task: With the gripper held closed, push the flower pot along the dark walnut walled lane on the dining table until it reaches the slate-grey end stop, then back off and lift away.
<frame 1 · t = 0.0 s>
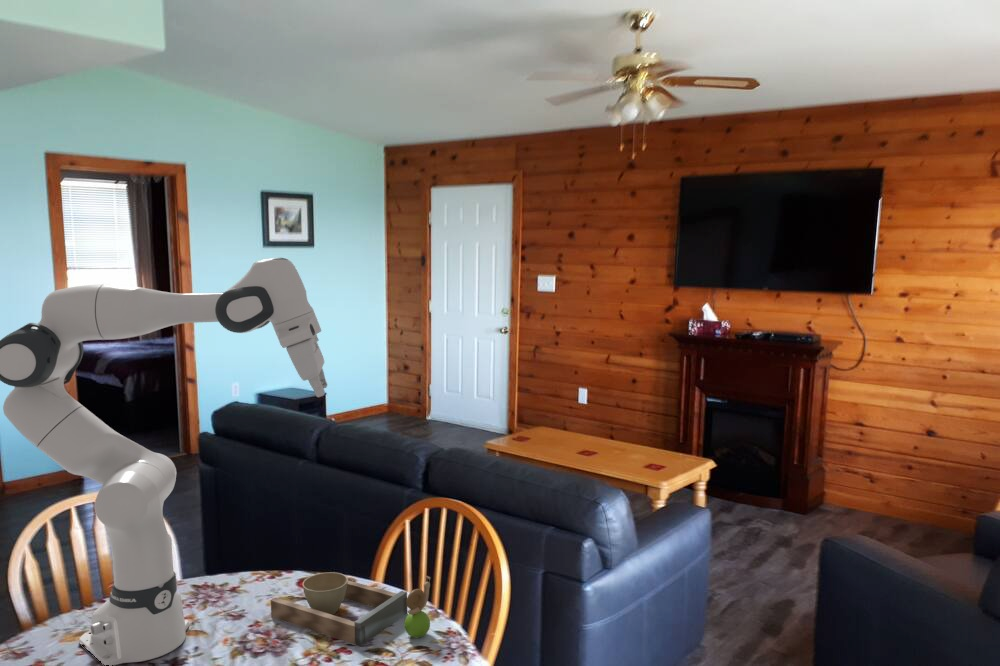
hand: (322, 391, 150), 52 cm above the table, tool tilted 20°, fingers open, 8 cm apart
flower pot: (326, 612, 162), resting in walled lane
walled lane: (339, 615, 160), on the table
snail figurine: (419, 636, 151), on the table
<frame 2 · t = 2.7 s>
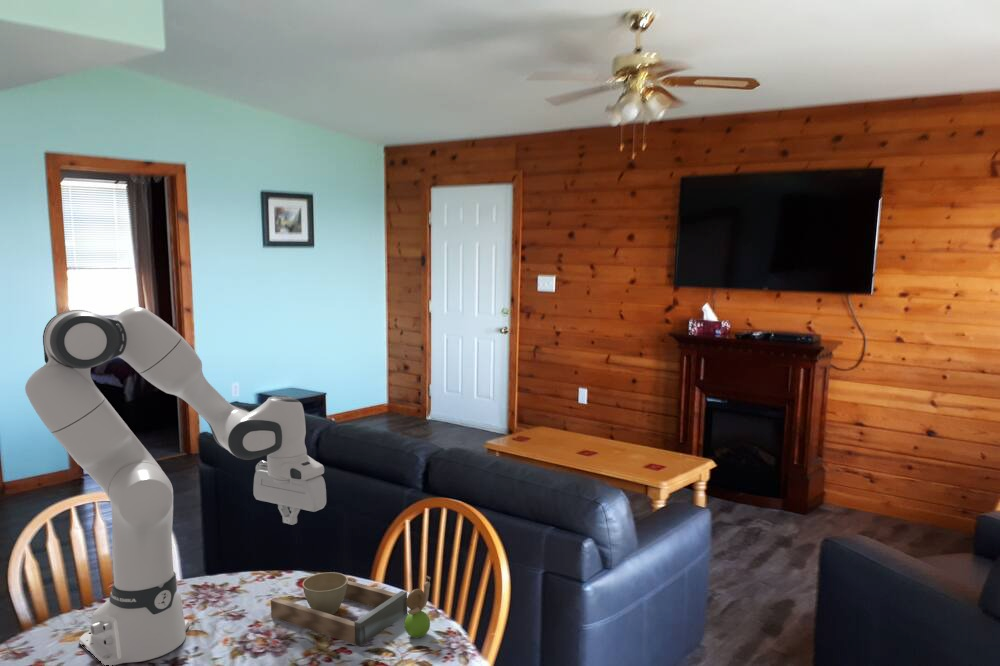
hand: (290, 523, 165), 19 cm above the table, tool pointing down, fingers closed
nothing on the table moved.
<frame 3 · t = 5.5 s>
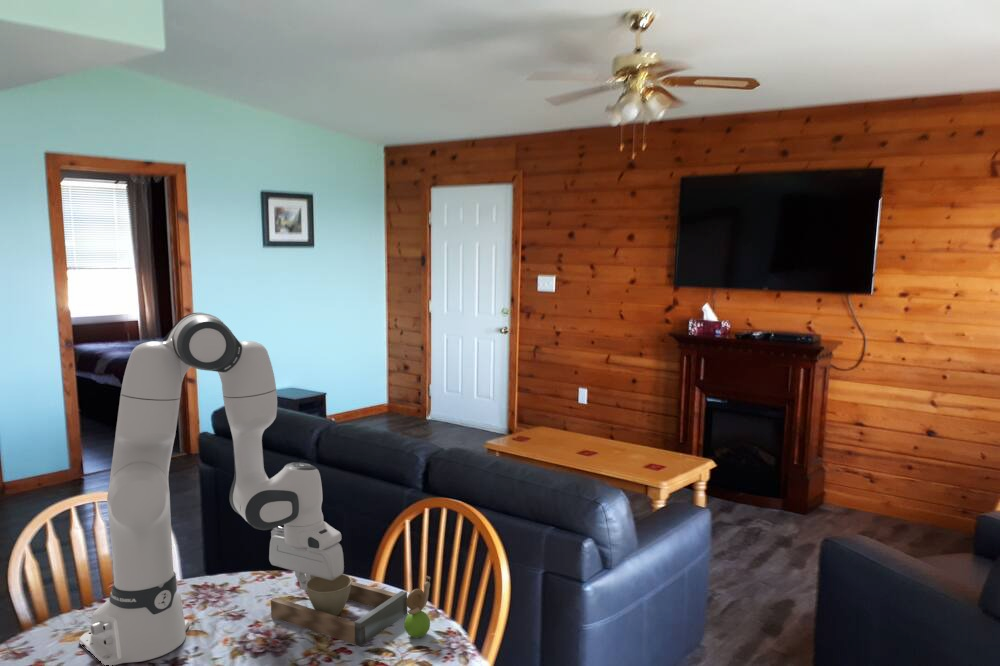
hand: (306, 589, 164), 4 cm above the table, tool pointing down, fingers closed
flower pot: (330, 613, 161), resting in walled lane, touching gripper
everything else where it was.
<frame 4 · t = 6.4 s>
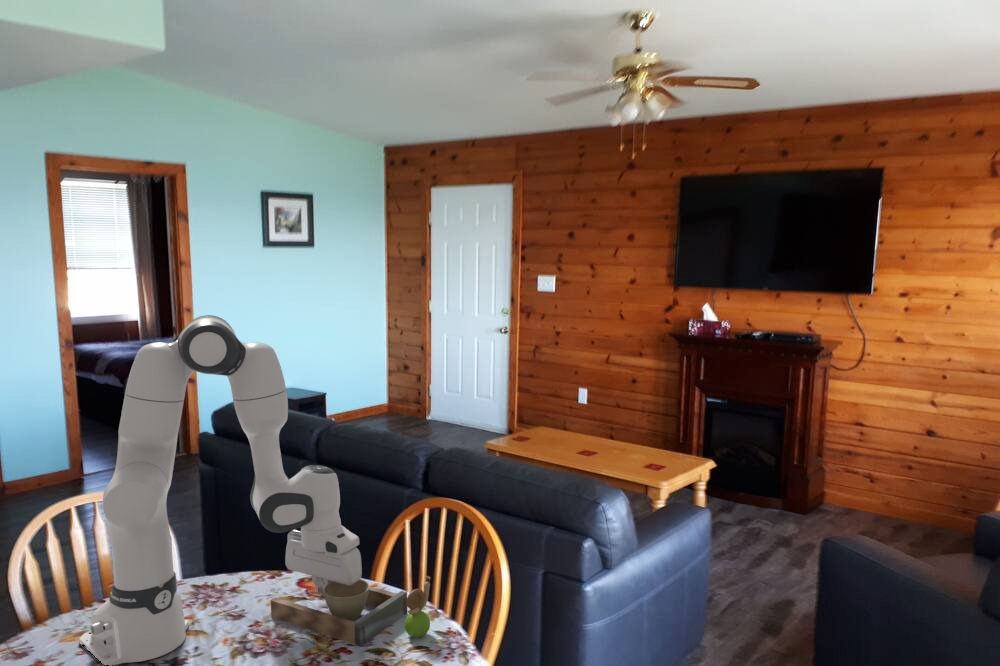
hand: (323, 594, 162), 4 cm above the table, tool pointing down, fingers closed
flower pot: (347, 618, 158), resting in walled lane, touching gripper
everything else where it was.
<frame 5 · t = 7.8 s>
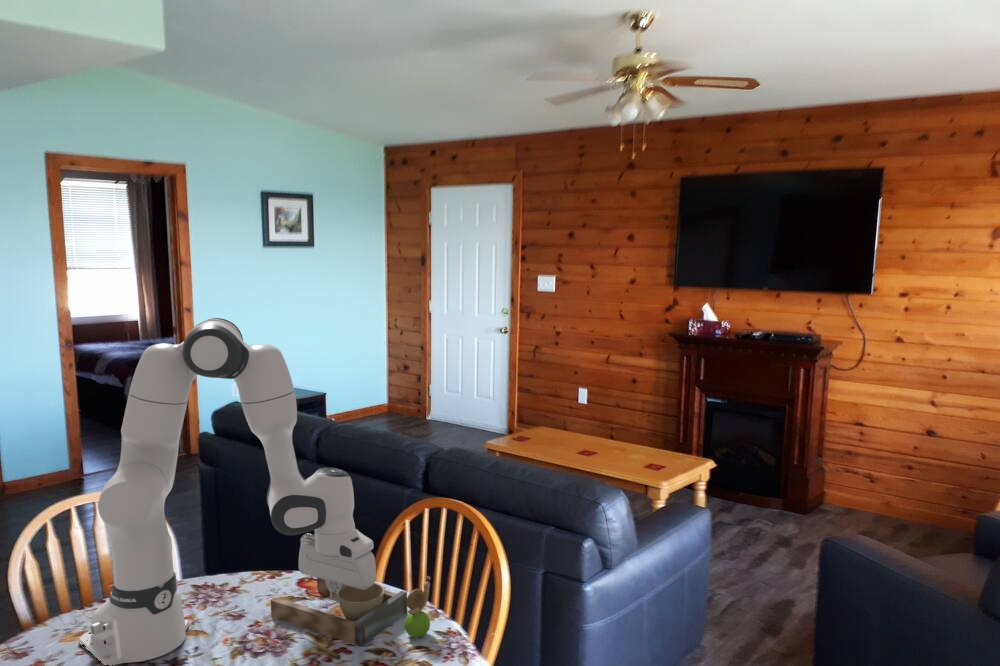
hand: (337, 598, 160), 4 cm above the table, tool pointing down, fingers closed
flower pot: (362, 623, 156), resting in walled lane, touching gripper
everything else where it was.
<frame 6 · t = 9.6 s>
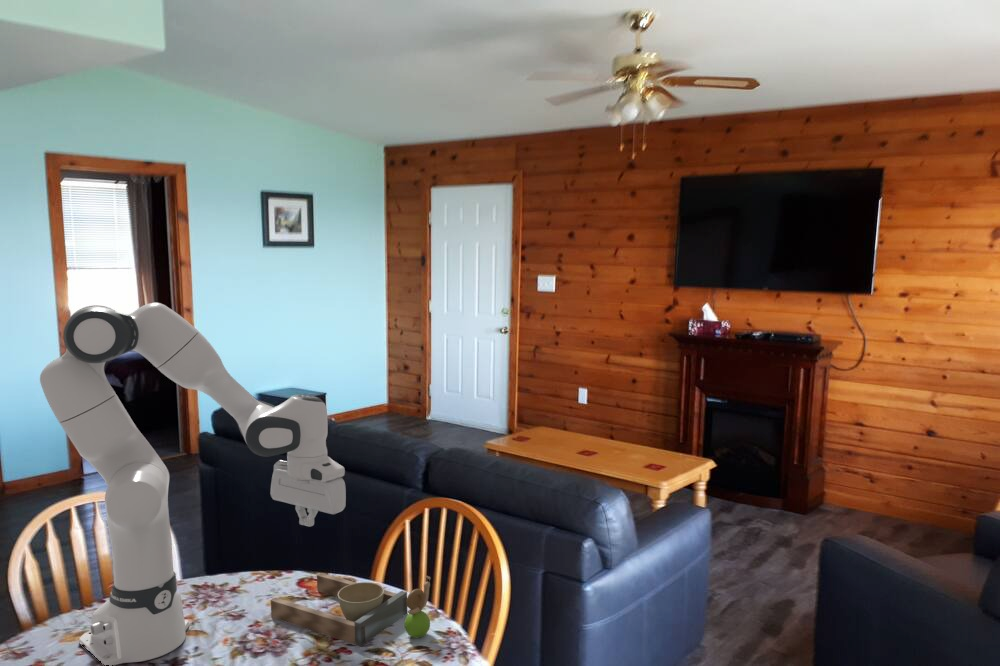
hand: (306, 524, 162), 20 cm above the table, tool pointing down, fingers closed
flower pot: (362, 623, 156), resting in walled lane
everything else where it was.
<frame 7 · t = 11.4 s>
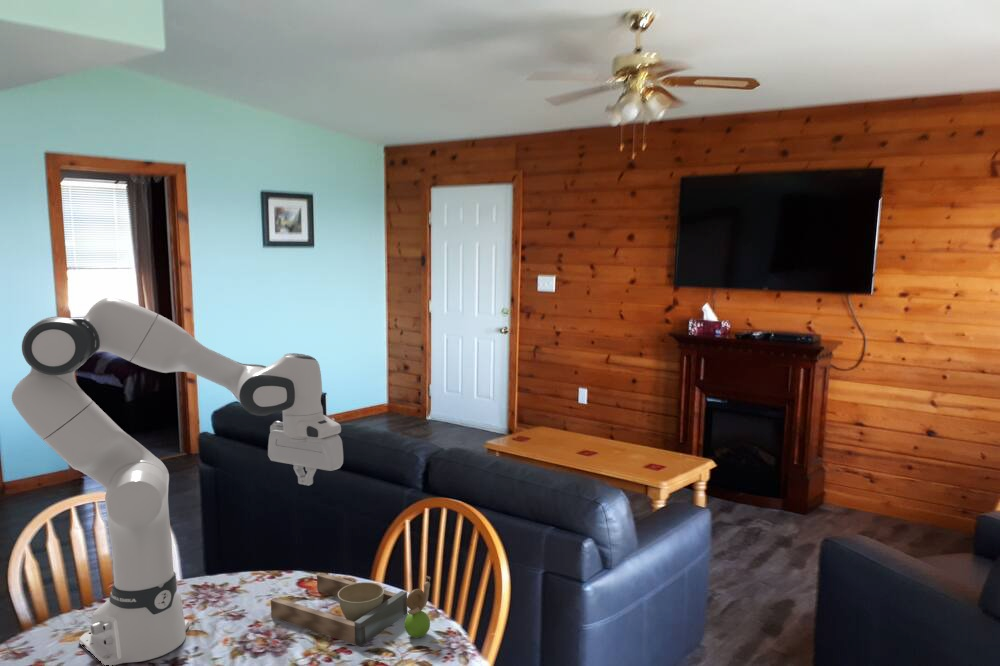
hand: (305, 484, 161), 29 cm above the table, tool pointing down, fingers closed
nothing on the table moved.
at the end: flower pot inside the target area (0.5 cm from its centre), resting in walled lane; flower pot tilted 0° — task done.
